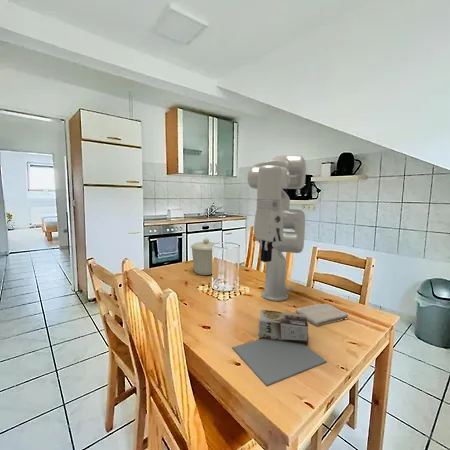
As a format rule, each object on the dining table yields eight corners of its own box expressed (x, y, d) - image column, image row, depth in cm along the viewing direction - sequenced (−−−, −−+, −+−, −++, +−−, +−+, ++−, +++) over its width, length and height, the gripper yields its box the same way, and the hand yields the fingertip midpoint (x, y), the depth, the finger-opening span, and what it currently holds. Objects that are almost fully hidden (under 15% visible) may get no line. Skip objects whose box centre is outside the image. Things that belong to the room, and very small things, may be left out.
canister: (226, 273, 159) (227, 239, 156) (204, 280, 146) (205, 242, 143) (206, 266, 171) (207, 234, 168) (184, 272, 158) (184, 238, 155)
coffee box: (258, 338, 88) (307, 345, 85) (258, 320, 88) (309, 326, 84) (260, 325, 97) (305, 331, 94) (261, 308, 97) (306, 314, 93)
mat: (286, 332, 93) (286, 331, 93) (326, 362, 77) (326, 361, 77) (232, 348, 83) (232, 347, 83) (266, 386, 67) (266, 384, 67)
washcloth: (350, 319, 105) (350, 312, 105) (316, 328, 97) (317, 321, 97) (327, 307, 116) (327, 300, 115) (295, 314, 108) (295, 307, 108)
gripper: (293, 207, 78) (290, 266, 81) (263, 203, 91) (261, 254, 94) (274, 207, 75) (271, 269, 78) (245, 203, 88) (244, 256, 91)
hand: (265, 261), depth 86 cm, fingers closed
